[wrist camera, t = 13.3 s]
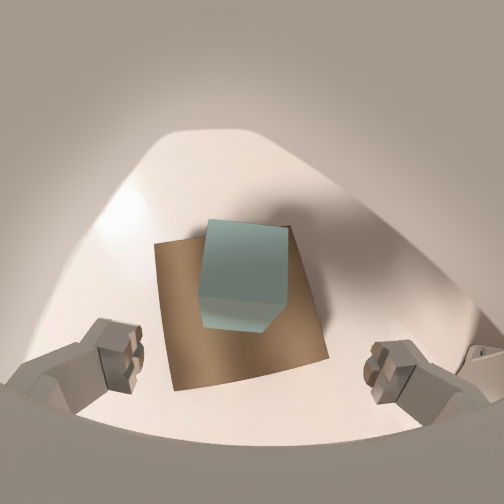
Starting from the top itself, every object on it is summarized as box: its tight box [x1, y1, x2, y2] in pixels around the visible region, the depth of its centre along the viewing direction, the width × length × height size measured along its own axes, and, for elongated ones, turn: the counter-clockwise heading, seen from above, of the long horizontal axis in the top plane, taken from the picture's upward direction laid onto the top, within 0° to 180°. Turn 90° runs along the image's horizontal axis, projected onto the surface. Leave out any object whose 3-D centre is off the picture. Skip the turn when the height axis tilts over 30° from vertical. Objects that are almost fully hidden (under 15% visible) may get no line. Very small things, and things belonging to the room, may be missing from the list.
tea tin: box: [198, 219, 288, 333], centre depth 18 cm, size 4×4×8 cm
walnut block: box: [154, 225, 329, 391], centre depth 25 cm, size 12×12×6 cm
